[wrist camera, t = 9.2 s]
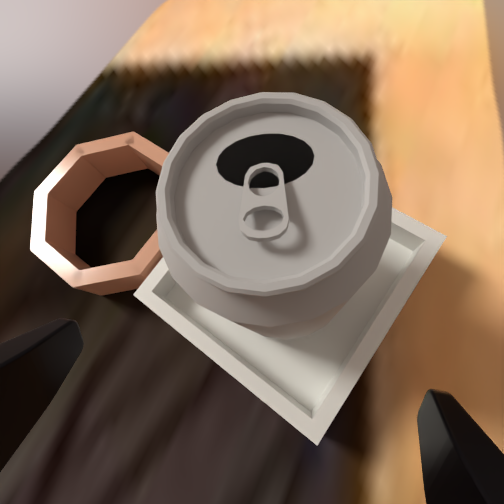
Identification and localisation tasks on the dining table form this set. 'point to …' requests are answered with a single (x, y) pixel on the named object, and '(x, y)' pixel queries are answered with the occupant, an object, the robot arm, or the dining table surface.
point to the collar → (73, 197)
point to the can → (273, 212)
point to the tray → (312, 346)
